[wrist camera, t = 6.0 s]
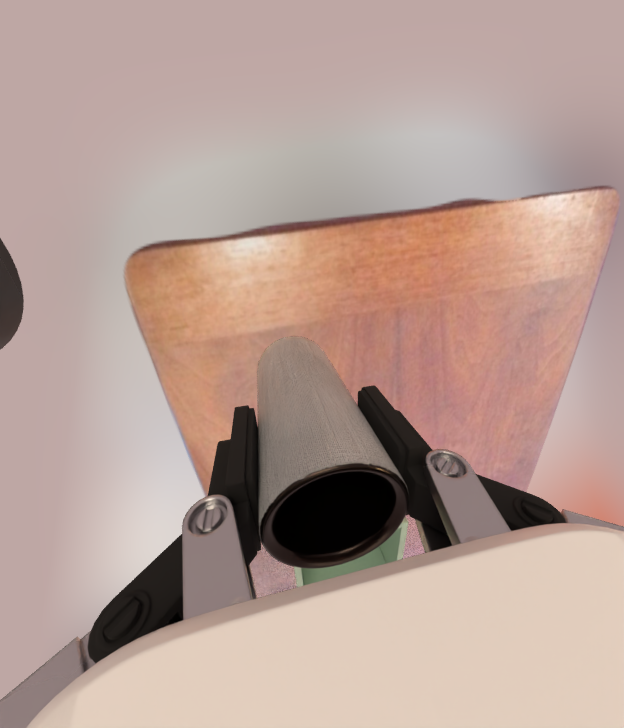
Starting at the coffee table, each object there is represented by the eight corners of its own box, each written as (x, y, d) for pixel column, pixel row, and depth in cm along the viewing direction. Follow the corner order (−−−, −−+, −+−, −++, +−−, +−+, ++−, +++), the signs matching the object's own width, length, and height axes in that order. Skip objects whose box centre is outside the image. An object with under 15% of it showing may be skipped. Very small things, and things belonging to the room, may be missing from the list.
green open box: (294, 552, 40) (300, 609, 34) (285, 492, 34) (290, 548, 28) (378, 533, 42) (398, 584, 35) (383, 473, 36) (408, 522, 30)
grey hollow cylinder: (262, 403, 17) (270, 585, 8) (251, 340, 15) (244, 486, 6) (328, 392, 18) (404, 549, 9) (326, 330, 16) (419, 450, 7)
